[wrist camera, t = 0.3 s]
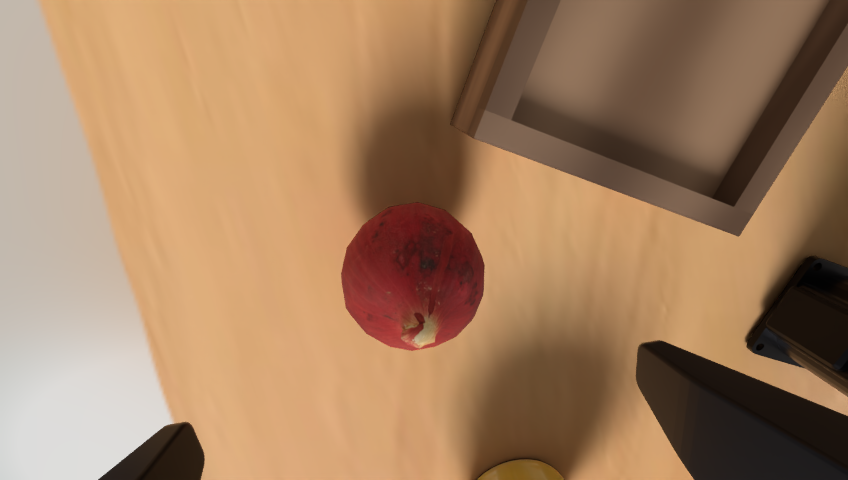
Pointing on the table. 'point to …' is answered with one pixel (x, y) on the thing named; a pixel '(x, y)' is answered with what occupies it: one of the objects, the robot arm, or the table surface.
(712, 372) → the robot arm
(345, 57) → the table surface
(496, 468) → the plant pot
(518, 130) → the walnut base
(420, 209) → the onion
